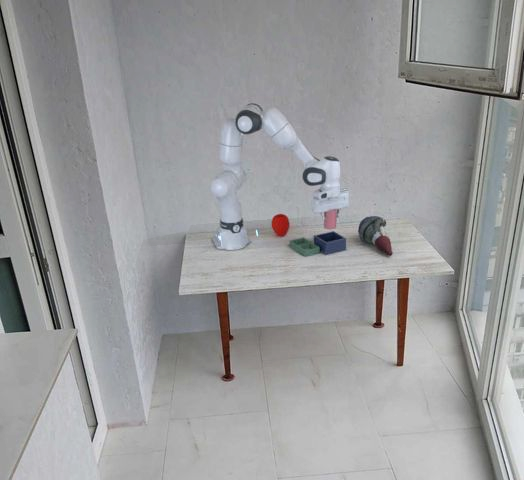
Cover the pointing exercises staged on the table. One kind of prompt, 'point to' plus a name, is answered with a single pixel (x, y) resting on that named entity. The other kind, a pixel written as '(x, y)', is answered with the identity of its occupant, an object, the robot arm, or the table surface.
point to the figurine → (375, 233)
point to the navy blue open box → (330, 242)
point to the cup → (330, 219)
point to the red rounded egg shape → (280, 224)
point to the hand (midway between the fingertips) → (330, 218)
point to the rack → (304, 246)
